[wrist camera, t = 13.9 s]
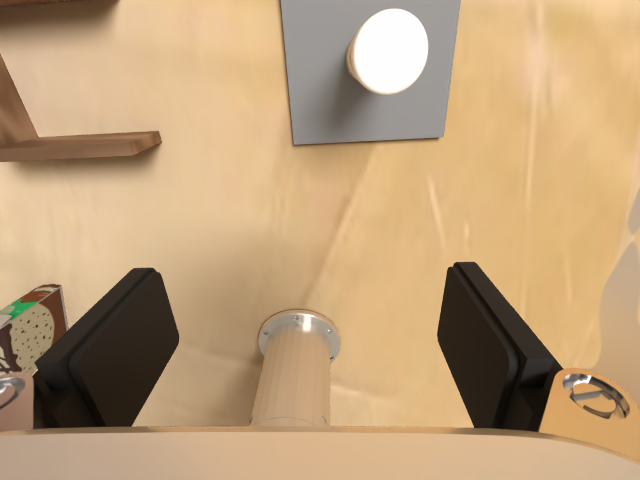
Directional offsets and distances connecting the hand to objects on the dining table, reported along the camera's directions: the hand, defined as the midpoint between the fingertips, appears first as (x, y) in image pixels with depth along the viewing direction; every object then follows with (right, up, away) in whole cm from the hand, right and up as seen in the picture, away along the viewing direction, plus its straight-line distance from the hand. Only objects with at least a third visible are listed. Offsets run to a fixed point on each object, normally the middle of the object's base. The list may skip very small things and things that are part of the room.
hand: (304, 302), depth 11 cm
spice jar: (+5, +20, +20) cm, 29 cm away
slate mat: (+5, +20, +21) cm, 30 cm away
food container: (-41, -8, +38) cm, 56 cm away
